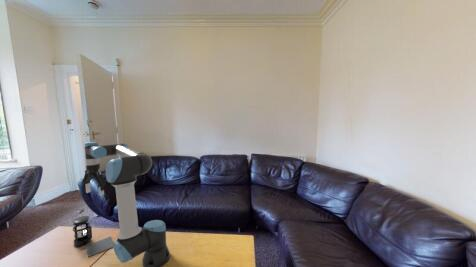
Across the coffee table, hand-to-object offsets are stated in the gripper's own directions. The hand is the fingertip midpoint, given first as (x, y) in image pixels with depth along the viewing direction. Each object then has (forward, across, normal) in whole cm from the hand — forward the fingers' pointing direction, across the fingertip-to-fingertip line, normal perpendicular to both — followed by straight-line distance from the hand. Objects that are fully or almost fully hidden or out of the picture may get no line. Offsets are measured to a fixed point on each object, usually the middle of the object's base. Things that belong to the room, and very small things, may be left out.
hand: (94, 193), depth 132 cm
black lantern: (+33, +4, +7) cm, 34 cm away
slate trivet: (+33, -11, +6) cm, 35 cm away
